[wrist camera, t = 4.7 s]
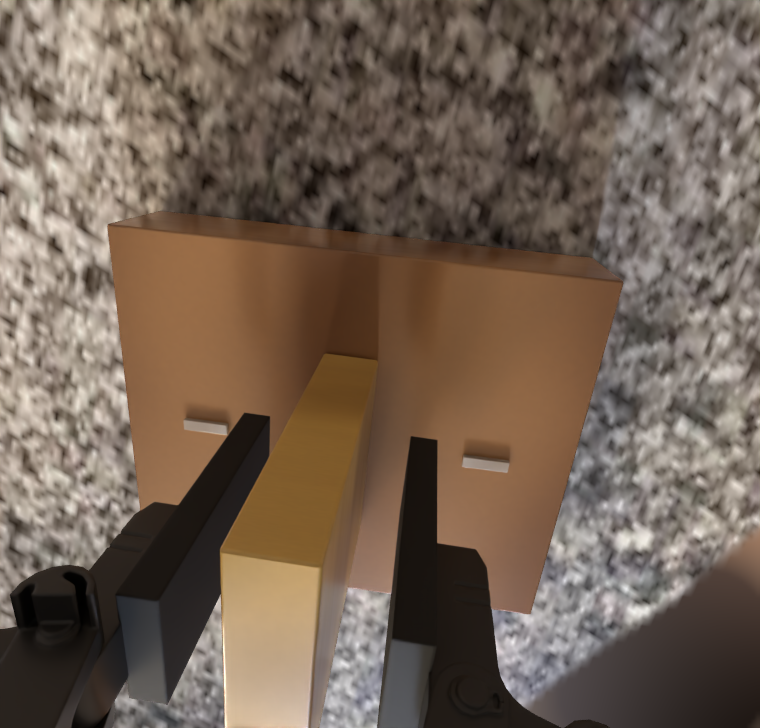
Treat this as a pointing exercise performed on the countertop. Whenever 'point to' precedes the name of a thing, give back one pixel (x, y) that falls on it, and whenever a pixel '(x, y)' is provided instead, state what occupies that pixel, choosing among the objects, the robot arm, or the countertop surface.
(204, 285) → the plate
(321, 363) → the thumbturn
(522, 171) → the countertop surface
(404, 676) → the robot arm
